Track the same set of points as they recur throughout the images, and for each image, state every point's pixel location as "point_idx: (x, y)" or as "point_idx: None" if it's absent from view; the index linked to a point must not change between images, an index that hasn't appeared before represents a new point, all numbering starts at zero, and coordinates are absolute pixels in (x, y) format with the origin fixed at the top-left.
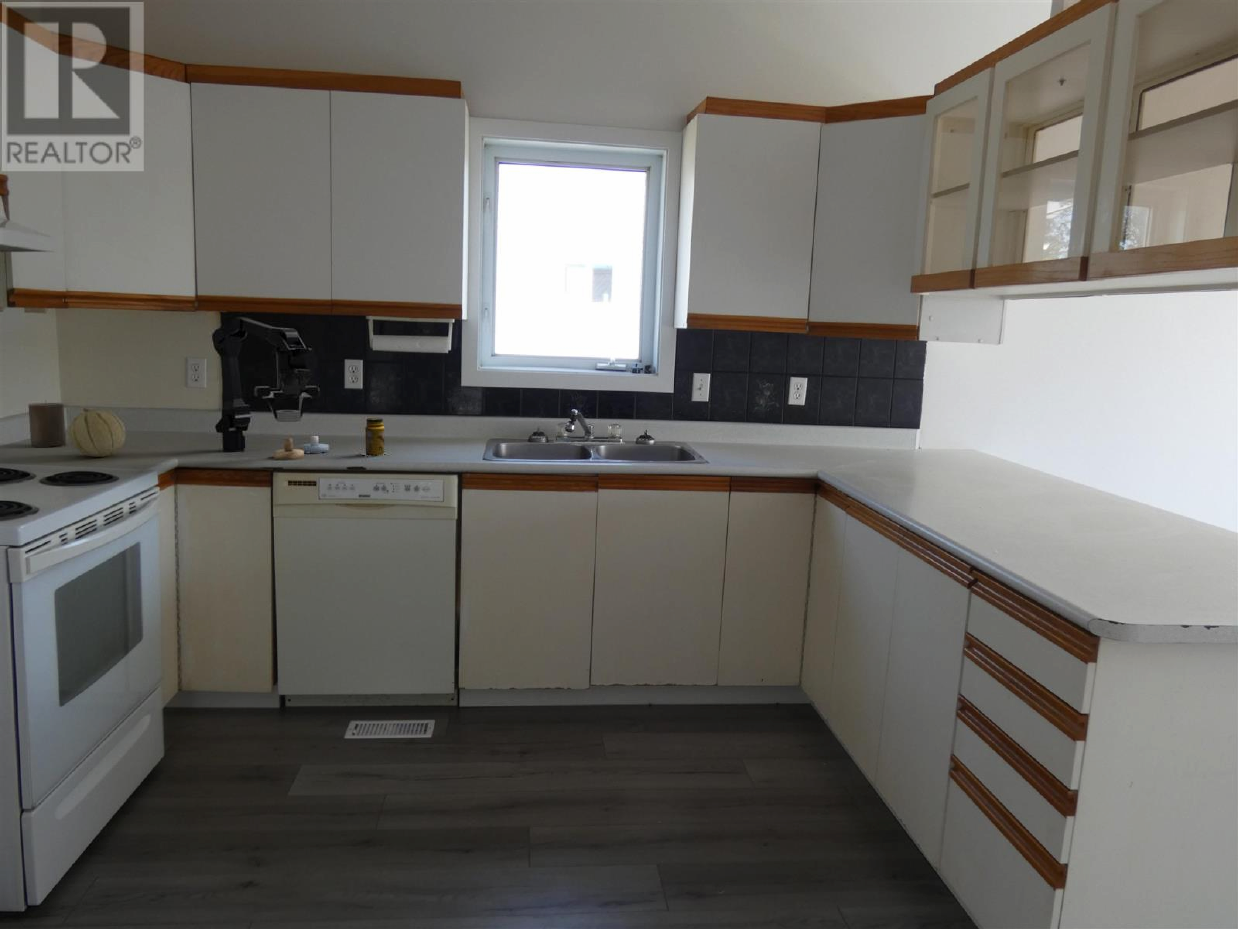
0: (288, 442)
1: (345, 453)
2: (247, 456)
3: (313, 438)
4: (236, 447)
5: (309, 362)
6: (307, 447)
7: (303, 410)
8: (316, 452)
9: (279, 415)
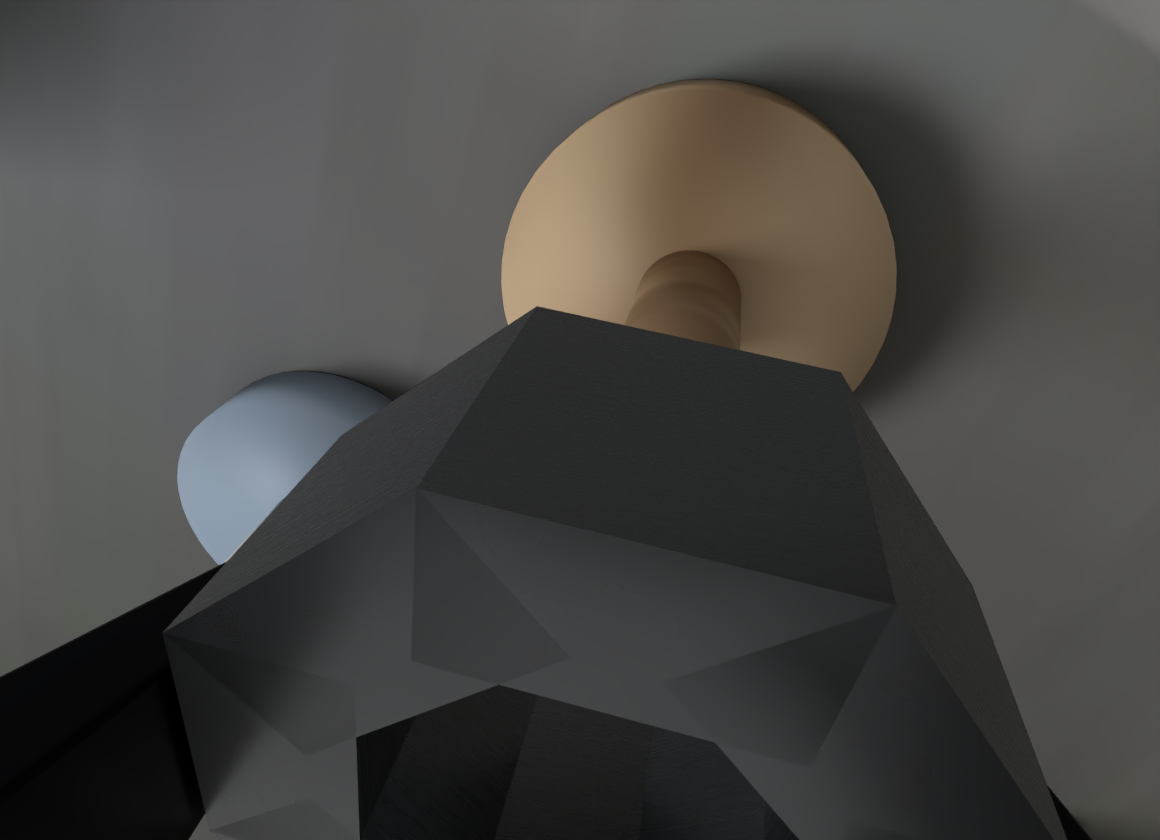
0: (700, 305)
1: (69, 242)
2: (1039, 554)
3: None
4: None
5: None
6: None
7: (37, 663)
8: (339, 383)
9: (993, 681)
